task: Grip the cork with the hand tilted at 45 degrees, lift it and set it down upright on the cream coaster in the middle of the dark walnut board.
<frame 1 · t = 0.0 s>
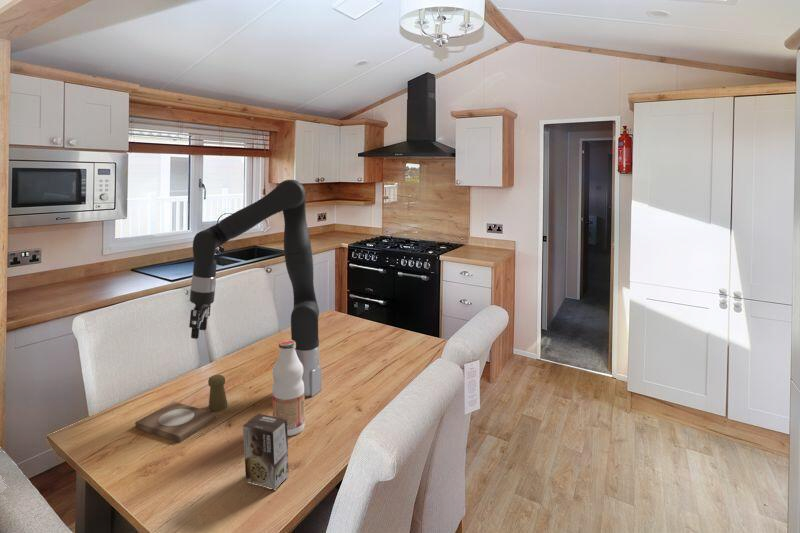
hand: (198, 333, 153), 22 cm above the table, tool pointing down, fingers open, 8 cm apart
coffee box: (267, 480, 115), on the table
fruit juice: (289, 429, 138), on the table
cork: (218, 407, 149), on the table
walnut board: (177, 423, 139), on the table
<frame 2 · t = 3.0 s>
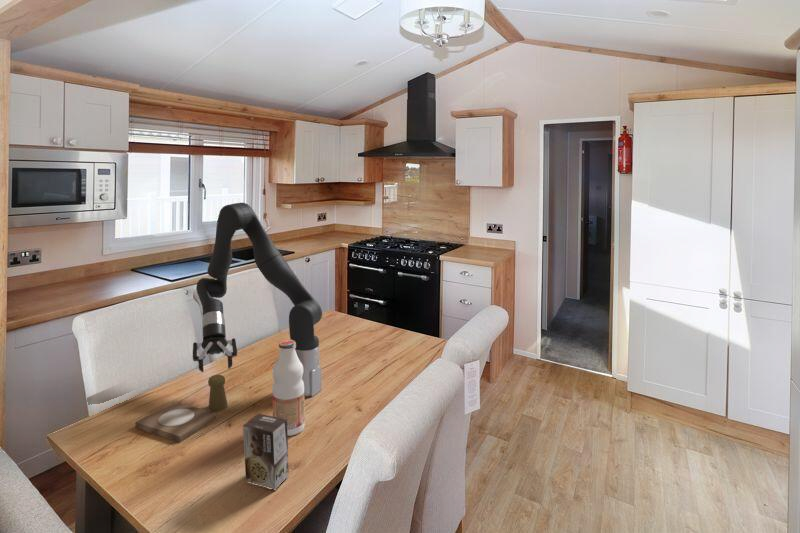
hand: (216, 369, 152), 11 cm above the table, tool tilted 45°, fingers open, 8 cm apart
nothing on the table moved.
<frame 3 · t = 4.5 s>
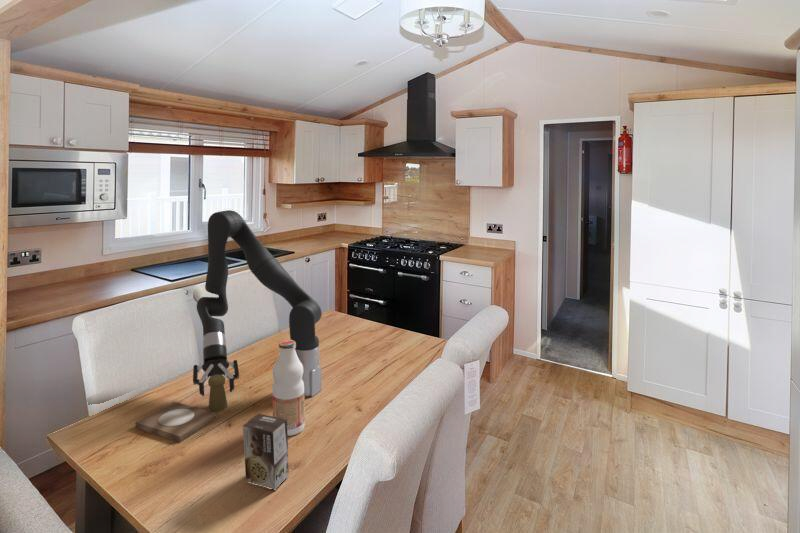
hand: (217, 393, 147), 5 cm above the table, tool tilted 45°, fingers open, 8 cm apart
nothing on the table moved.
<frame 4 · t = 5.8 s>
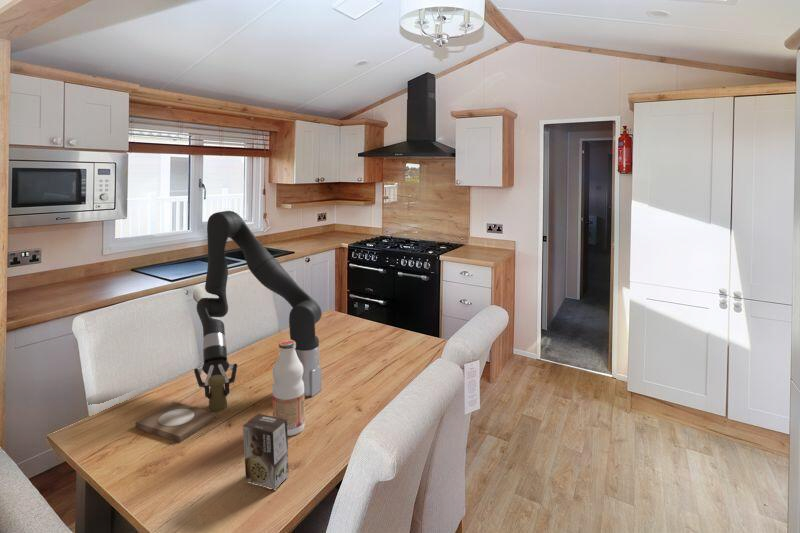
hand: (217, 396, 147), 5 cm above the table, tool tilted 45°, fingers closed on cork, 4 cm apart
cork: (218, 407, 149), on the table, touching gripper
everything else where it was.
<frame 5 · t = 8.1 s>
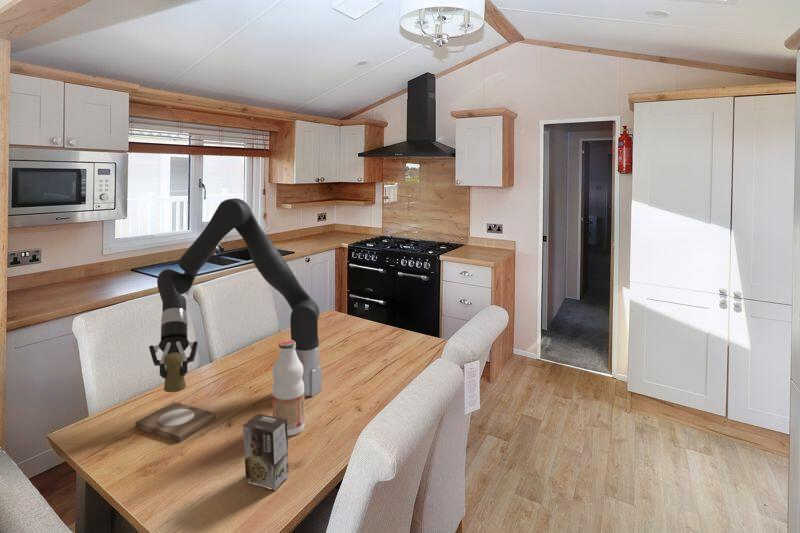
hand: (173, 375, 135), 16 cm above the table, tool tilted 45°, fingers closed on cork, 4 cm apart
cork: (175, 388, 138), point 11 cm above the table, touching gripper
everything else where it was.
when the fingers open (8 cm above the table, at t = 10.5 s): cork drops 1 cm, resting on walnut board.
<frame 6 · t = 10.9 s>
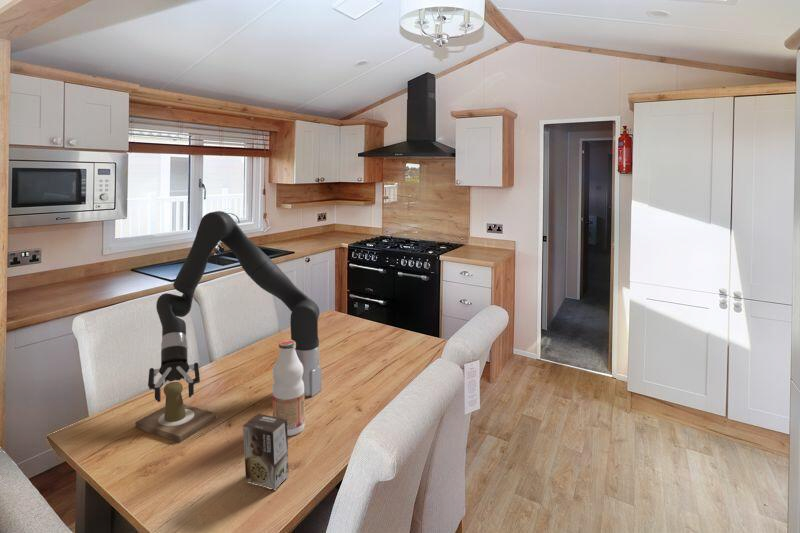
hand: (174, 398, 136), 9 cm above the table, tool tilted 45°, fingers open, 8 cm apart
cork: (175, 417, 138), point 2 cm above the table, touching walnut board
everything else where it was.
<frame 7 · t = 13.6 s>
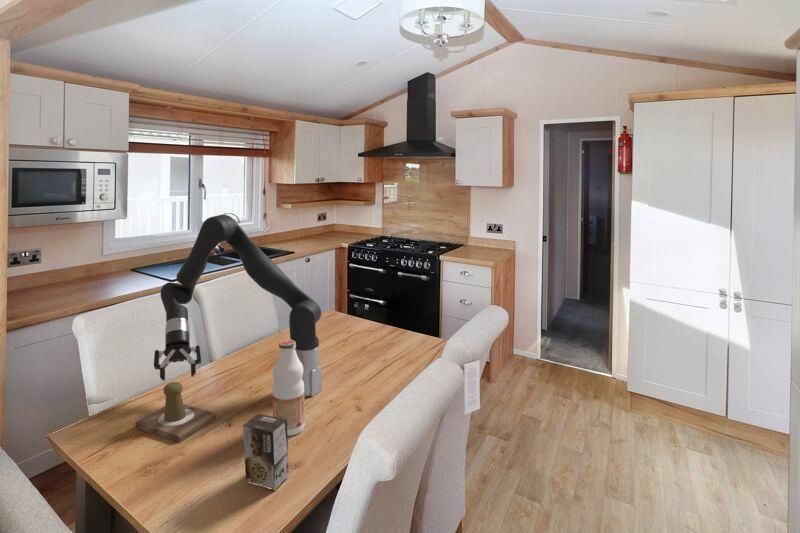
hand: (178, 377, 148), 10 cm above the table, tool tilted 45°, fingers open, 8 cm apart
nothing on the table moved.
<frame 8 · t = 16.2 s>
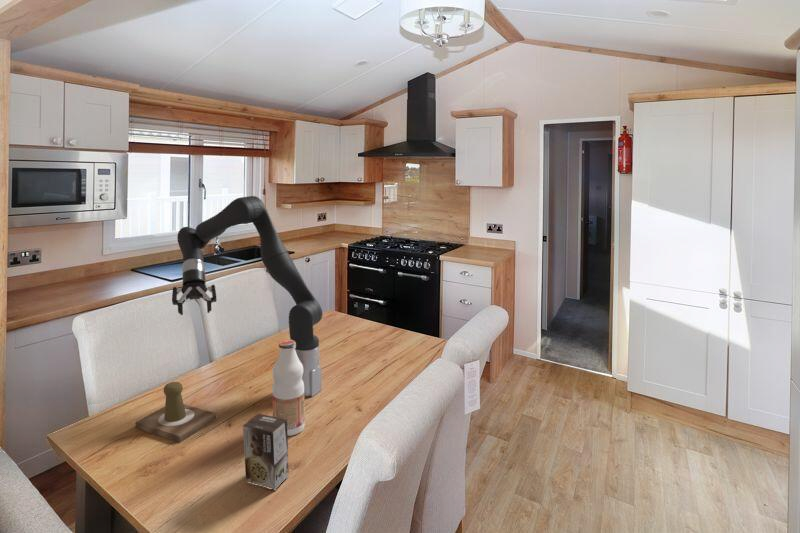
hand: (195, 312, 156), 29 cm above the table, tool tilted 45°, fingers open, 8 cm apart
nothing on the table moved.
at the end: cork inside the target area on the walnut board (0.4 cm from its centre), point 2.0 cm above the walnut board's base; cork tilted 0°; the gripper is holding nothing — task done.
